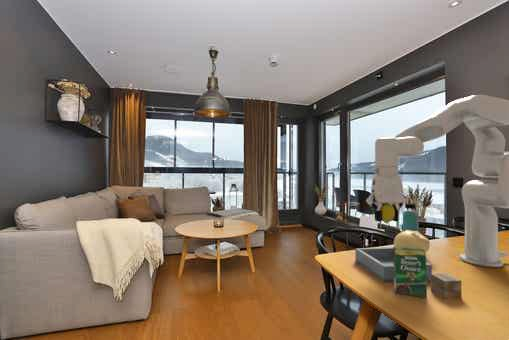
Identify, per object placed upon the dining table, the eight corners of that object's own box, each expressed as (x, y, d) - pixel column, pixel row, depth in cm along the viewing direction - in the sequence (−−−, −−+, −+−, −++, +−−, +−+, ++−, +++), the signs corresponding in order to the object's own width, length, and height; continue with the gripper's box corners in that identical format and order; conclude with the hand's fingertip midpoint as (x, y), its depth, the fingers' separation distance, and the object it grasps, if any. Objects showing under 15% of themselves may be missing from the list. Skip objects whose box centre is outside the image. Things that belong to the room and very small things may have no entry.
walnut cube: (446, 289, 76) (446, 273, 76) (461, 298, 71) (461, 280, 71) (430, 290, 76) (430, 273, 76) (444, 299, 71) (445, 281, 71)
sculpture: (434, 262, 99) (435, 234, 99) (403, 261, 99) (403, 233, 99) (417, 252, 110) (417, 227, 110) (388, 251, 111) (389, 227, 111)
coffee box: (394, 293, 74) (394, 248, 74) (392, 289, 77) (393, 245, 76) (427, 298, 71) (427, 251, 71) (424, 294, 74) (424, 248, 74)
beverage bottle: (413, 250, 113) (413, 204, 113) (398, 245, 119) (399, 203, 119) (422, 247, 116) (422, 204, 116) (407, 244, 122) (407, 202, 122)
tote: (394, 259, 101) (395, 247, 101) (431, 280, 83) (431, 264, 83) (355, 261, 99) (355, 248, 99) (384, 282, 81) (384, 266, 81)
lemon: (380, 224, 91) (380, 202, 91) (376, 221, 97) (376, 200, 97) (397, 225, 90) (397, 203, 90) (392, 222, 96) (392, 201, 96)
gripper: (369, 171, 89) (369, 223, 89) (415, 171, 90) (415, 222, 91) (358, 171, 96) (358, 219, 96) (401, 171, 98) (401, 218, 98)
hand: (386, 220), depth 93 cm, fingers closed on lemon, 5 cm apart
